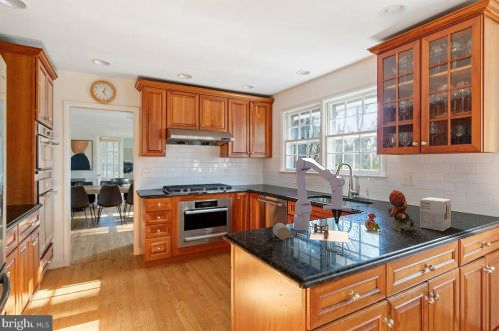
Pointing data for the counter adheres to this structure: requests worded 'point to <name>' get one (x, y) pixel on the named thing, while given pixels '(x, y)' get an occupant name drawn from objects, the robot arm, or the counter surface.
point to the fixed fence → (320, 227)
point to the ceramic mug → (282, 231)
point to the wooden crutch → (325, 233)
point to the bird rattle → (371, 222)
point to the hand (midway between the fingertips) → (336, 223)
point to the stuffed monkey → (399, 210)
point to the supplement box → (435, 213)
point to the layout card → (330, 236)
